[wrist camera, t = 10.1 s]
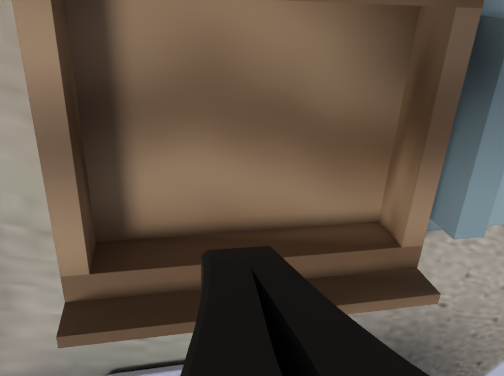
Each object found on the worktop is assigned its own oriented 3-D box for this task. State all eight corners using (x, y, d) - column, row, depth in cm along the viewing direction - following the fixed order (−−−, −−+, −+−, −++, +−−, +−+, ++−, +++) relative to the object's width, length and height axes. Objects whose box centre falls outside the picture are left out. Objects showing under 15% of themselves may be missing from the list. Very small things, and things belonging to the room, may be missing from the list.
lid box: (383, 241, 22) (437, 303, 18) (77, 266, 19) (58, 348, 15) (442, -45, 17) (539, -51, 13) (25, -73, 14) (-28, -94, 10)
